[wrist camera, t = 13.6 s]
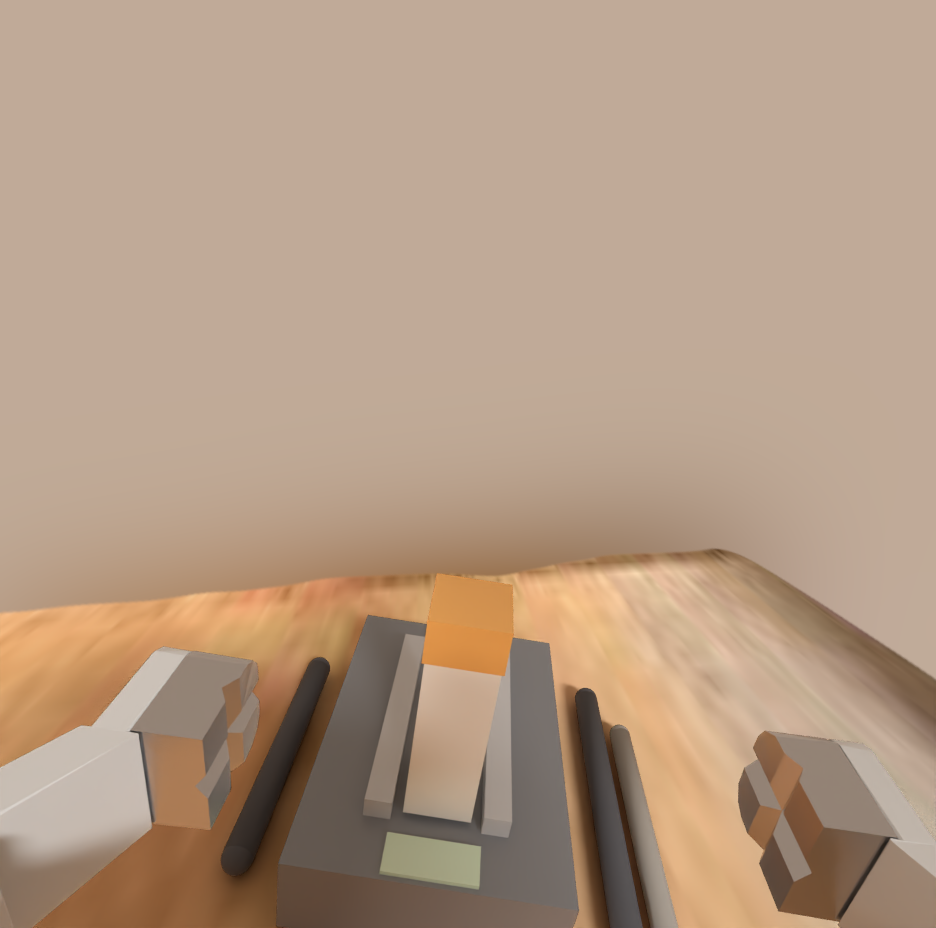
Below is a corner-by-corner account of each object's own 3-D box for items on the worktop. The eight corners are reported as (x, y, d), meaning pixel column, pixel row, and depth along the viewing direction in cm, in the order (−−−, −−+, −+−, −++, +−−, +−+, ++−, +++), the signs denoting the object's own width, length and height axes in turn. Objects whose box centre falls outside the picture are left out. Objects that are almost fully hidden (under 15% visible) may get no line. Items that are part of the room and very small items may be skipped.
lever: (411, 752, 28) (437, 573, 24) (476, 762, 28) (512, 584, 24) (400, 813, 25) (427, 620, 21) (472, 825, 25) (513, 633, 21)
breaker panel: (363, 663, 39) (369, 602, 37) (537, 690, 39) (552, 630, 37) (276, 926, 24) (278, 846, 22) (558, 970, 24) (584, 894, 22)
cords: (315, 657, 39) (316, 641, 38) (617, 705, 39) (622, 689, 38) (199, 915, 24) (198, 894, 23) (687, 992, 24) (696, 972, 23)
